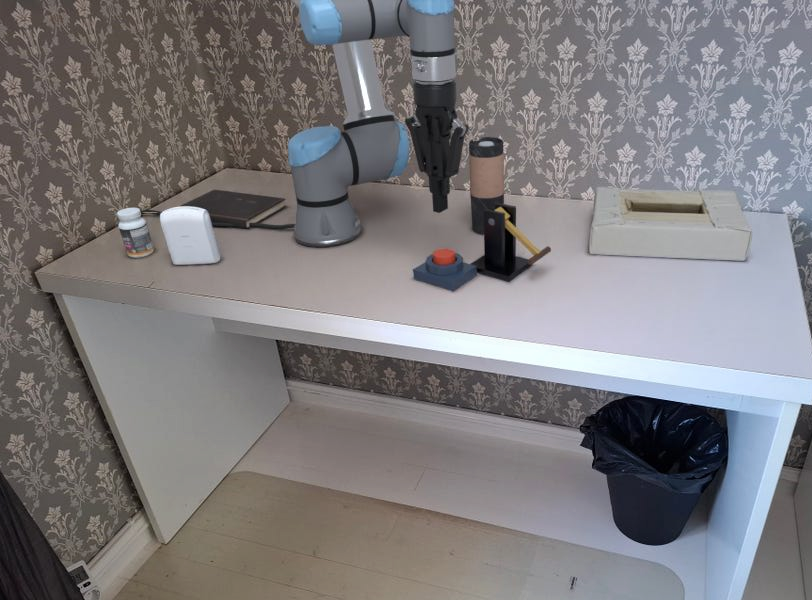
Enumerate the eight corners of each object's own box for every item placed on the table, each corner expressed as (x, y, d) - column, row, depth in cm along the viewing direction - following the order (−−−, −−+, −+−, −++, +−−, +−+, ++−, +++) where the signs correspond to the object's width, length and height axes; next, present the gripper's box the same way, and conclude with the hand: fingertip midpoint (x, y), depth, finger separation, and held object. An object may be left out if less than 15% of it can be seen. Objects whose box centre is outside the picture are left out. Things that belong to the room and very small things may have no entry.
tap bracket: (532, 265, 140) (533, 205, 133) (508, 282, 134) (508, 220, 127) (492, 254, 145) (491, 197, 138) (467, 270, 139) (465, 210, 132)
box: (588, 256, 143) (748, 262, 137) (590, 221, 139) (755, 226, 133) (590, 217, 162) (731, 220, 157) (592, 185, 158) (737, 187, 153)
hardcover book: (216, 197, 182) (214, 189, 181) (286, 207, 174) (285, 198, 173) (173, 218, 170) (170, 210, 169) (247, 230, 162) (245, 220, 161)
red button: (428, 262, 135) (428, 254, 134) (442, 254, 137) (441, 246, 136) (446, 267, 132) (446, 259, 131) (459, 259, 135) (459, 251, 134)
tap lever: (547, 255, 135) (553, 247, 134) (529, 268, 131) (535, 260, 129) (501, 211, 137) (507, 202, 135) (482, 222, 132) (487, 213, 131)
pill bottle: (123, 254, 153) (109, 212, 147) (147, 246, 156) (134, 204, 151) (134, 260, 149) (120, 218, 144) (159, 252, 153) (146, 210, 147)
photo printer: (170, 266, 146) (153, 211, 139) (177, 258, 150) (161, 204, 143) (217, 265, 146) (203, 210, 139) (223, 256, 149) (210, 202, 143)
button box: (413, 279, 137) (412, 261, 135) (437, 264, 142) (436, 246, 140) (453, 291, 132) (452, 272, 129) (476, 275, 137) (476, 257, 135)
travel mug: (501, 235, 154) (500, 146, 143) (468, 234, 155) (465, 146, 144) (506, 223, 160) (506, 136, 149) (474, 221, 161) (472, 136, 150)
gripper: (391, 80, 118) (402, 209, 131) (451, 88, 111) (456, 223, 125) (418, 72, 123) (426, 197, 136) (477, 80, 116) (479, 210, 130)
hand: (440, 209), depth 130 cm, fingers closed
